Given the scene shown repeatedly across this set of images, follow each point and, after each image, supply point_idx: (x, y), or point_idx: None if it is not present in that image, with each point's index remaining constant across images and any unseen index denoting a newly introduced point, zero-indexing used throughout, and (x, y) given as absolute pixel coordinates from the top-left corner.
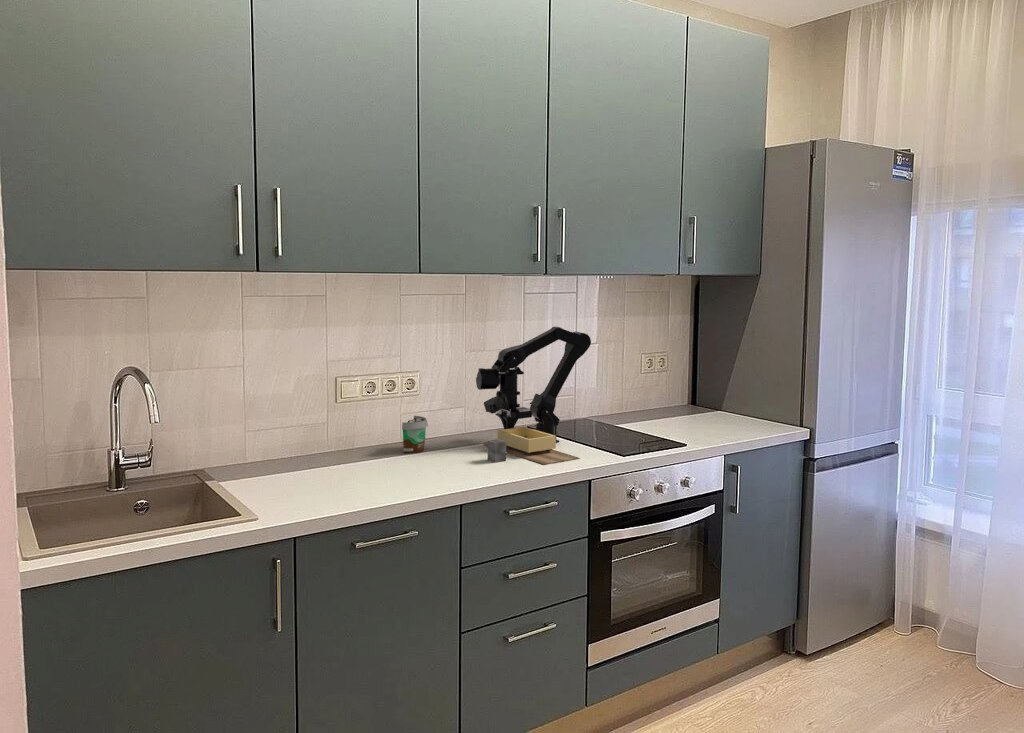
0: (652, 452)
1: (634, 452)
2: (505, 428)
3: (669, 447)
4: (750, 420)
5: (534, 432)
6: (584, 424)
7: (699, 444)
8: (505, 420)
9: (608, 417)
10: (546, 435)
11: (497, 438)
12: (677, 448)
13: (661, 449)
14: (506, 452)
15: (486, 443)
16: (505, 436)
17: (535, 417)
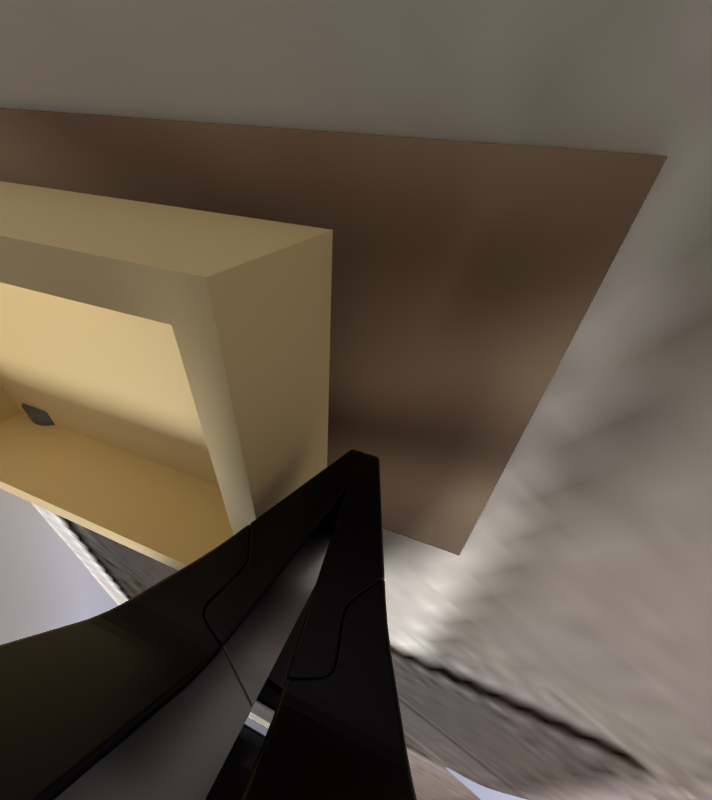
0: (78, 542)
1: (79, 528)
2: (338, 518)
3: (121, 585)
4: (264, 723)
5: (121, 513)
6: (440, 747)
7: None
8: (194, 656)
9: (451, 784)
10: (2, 466)
11: (303, 239)
12: (111, 582)
13: (105, 568)
14: (109, 116)
15: (606, 227)
16: (50, 218)
17: (234, 743)
